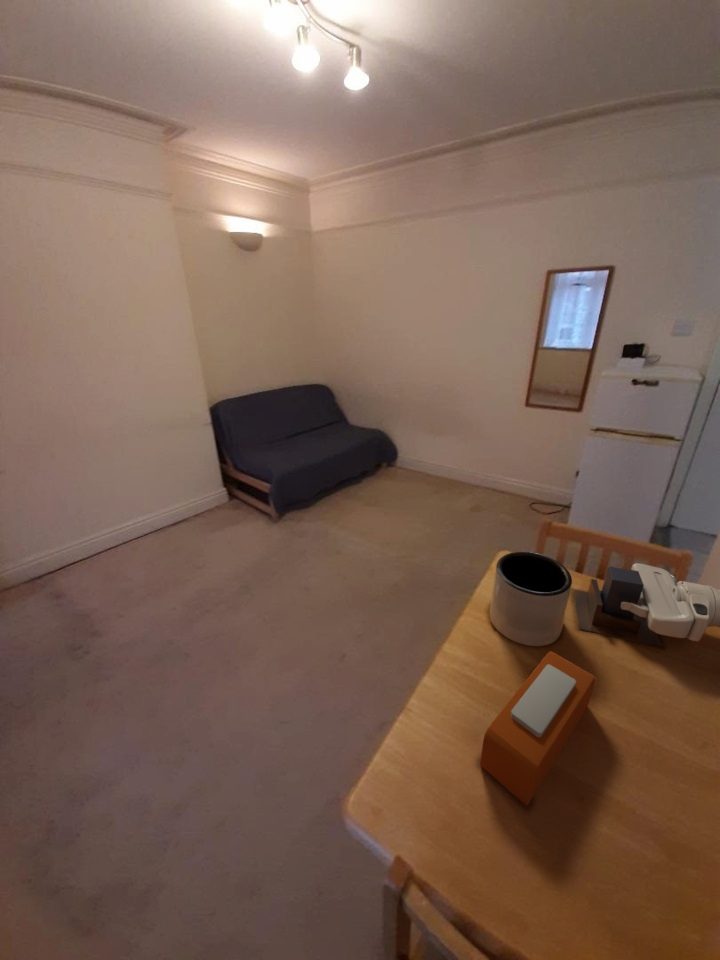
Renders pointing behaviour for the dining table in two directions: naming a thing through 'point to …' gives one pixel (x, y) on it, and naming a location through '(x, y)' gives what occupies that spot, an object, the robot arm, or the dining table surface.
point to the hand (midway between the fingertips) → (616, 589)
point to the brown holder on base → (610, 619)
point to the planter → (530, 598)
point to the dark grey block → (620, 590)
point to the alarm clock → (536, 725)
